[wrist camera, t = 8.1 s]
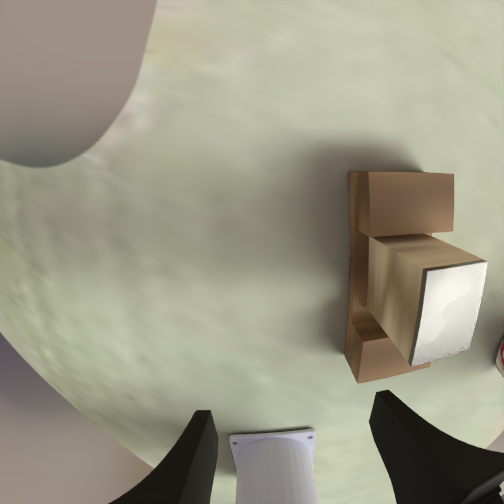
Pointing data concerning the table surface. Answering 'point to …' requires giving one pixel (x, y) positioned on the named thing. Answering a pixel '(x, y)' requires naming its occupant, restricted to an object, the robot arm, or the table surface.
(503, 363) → the soda can
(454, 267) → the tan wooden block
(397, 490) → the robot arm
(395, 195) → the brown u-shaped block
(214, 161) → the table surface
